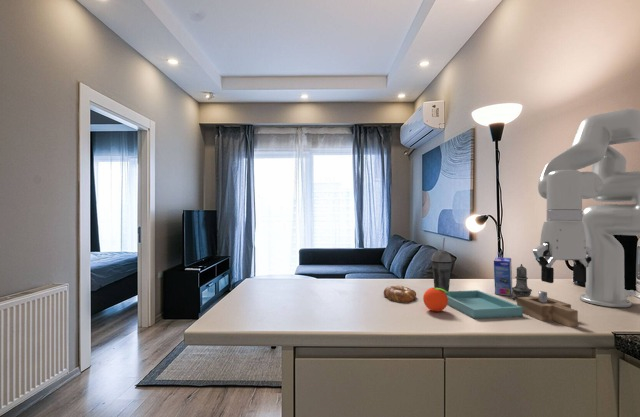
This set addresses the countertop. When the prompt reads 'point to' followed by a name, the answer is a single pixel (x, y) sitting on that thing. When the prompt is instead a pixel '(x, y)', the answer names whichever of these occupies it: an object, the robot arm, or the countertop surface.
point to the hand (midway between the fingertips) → (563, 281)
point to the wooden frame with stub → (549, 310)
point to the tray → (482, 305)
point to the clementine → (435, 299)
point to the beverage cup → (441, 268)
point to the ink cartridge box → (503, 276)
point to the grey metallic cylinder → (542, 297)
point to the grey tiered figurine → (521, 283)
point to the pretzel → (400, 293)
